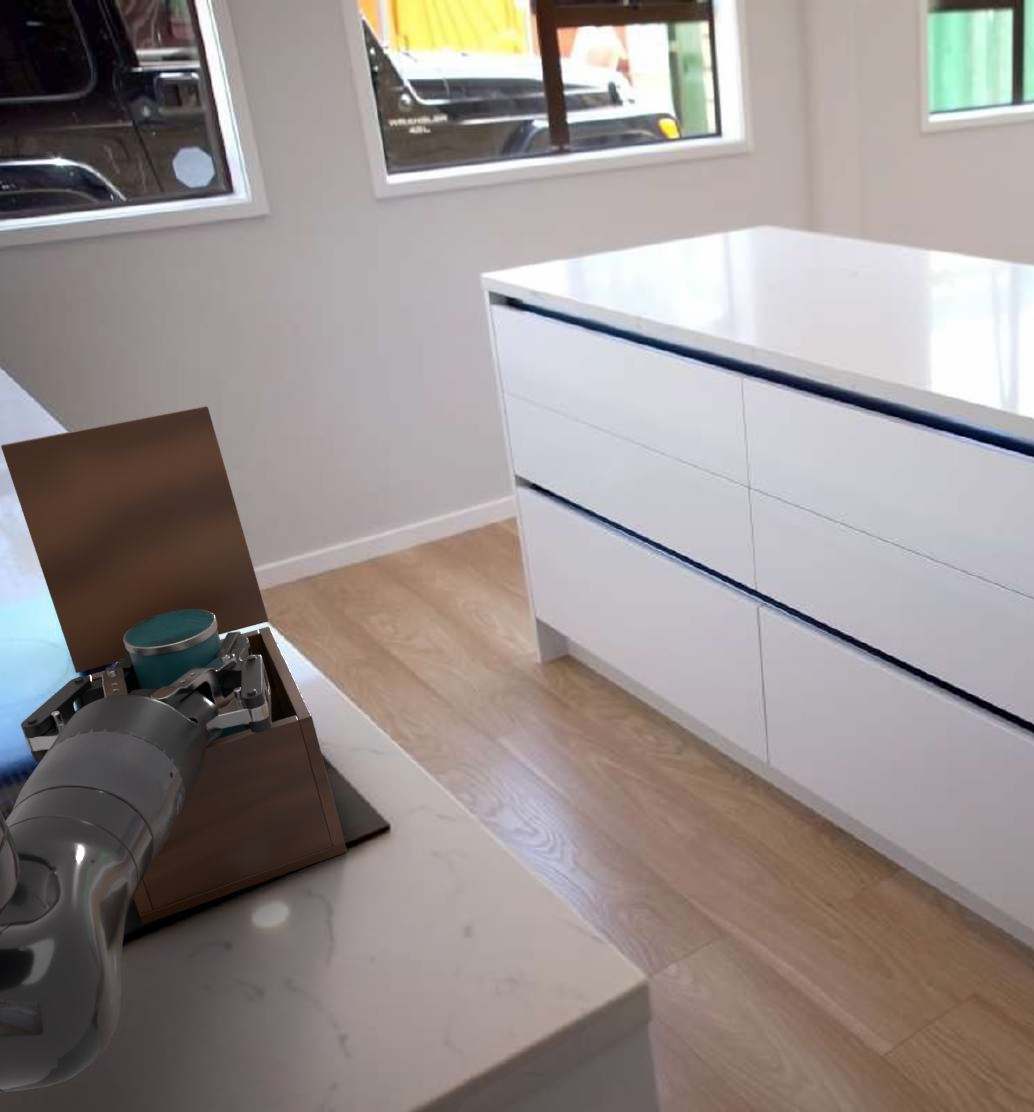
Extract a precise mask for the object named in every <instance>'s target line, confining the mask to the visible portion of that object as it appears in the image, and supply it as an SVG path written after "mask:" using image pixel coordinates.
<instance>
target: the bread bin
mask: <svg viewBox="0 0 1034 1112" xmlns="http://www.w3.org/2000/svg"><path fill="white" fill-rule="evenodd" d="M241 635H242V638H245V637H247V638H248V640H249V644H250V648H251V651H252V655H261V656H262V659H263V663H264V666H265V670H266V674H267V678H268V681H269V685H270V689H271V717H272V726H271V727H270V728H269V729H268V730H266V731H263V732H258V733H255V732H252V731H251V729H250V726H249V724H244V726H245V730H246V731H242V732H239V733H236V734H232V735H229V736H226V737H223V738H219V739H216V740H214V741H213V742H211V743H210V744H209V745H208V746H207V747H206V751H205V755H204V760H203V764H202V768H201V771H200V773H199V775H198V777H197V780H196V782H195V784H194V786H193V788H192V790H191V792H190V794H189V796H188V798H187V800H186V802H185V804H184V806H183V809H182V811H181V813H180V815H179V817H178V819H177V821H176V823H175V825H174V827H173V829H172V831H171V833H170V835H169V837H168V839H167V841H166V843H165V844H164V846H163V847H162V849H161V850H160V852H159V853H158V855H157V856H156V857H155V858H154V860H153V861H152V862H151V864H150V865H149V867H148V869H147V871H146V873H145V875H144V877H143V879H142V881H141V883H140V885H139V887H138V889H137V891H136V893H135V895H134V898H133V900H134V904H135V906H136V909H137V912H138V914H139V917H140V920H141V923H142V925H147V924H149V923H153V922H155V921H158V920H161V919H165V918H166V917H170V916H172V915H175V914H178V913H180V912H184V911H186V910H189V909H191V908H194V907H197V906H200V905H203V904H205V903H209V902H212V901H214V900H217V899H219V898H222V897H225V896H228V895H230V894H234V893H236V892H239V891H242V890H244V889H248V888H250V887H253V886H256V885H258V884H261V883H264V882H267V881H270V880H272V879H275V878H278V877H281V876H284V875H287V874H289V873H293V872H295V871H298V870H301V869H303V868H306V867H309V866H311V865H314V864H317V863H320V862H322V861H326V860H328V859H332V858H334V857H337V856H339V855H342V854H346V853H347V852H348V849H347V845H346V841H345V836H344V833H343V830H342V825H341V821H340V817H339V814H338V812H337V811H338V810H337V807H336V806H337V805H336V802H335V799H334V795H333V791H332V788H331V784H330V780H329V777H328V772H327V769H326V765H325V762H324V758H323V754H322V750H321V746H320V742H319V738H318V734H317V731H316V727H315V723H314V720H313V716H312V714H311V712H310V709H309V707H308V705H307V702H306V701H305V698H304V696H303V694H302V692H301V690H300V688H299V686H298V683H297V681H296V680H295V677H294V675H293V673H292V671H291V669H290V667H289V664H288V663H287V660H286V658H285V656H284V654H283V652H282V650H281V647H280V645H279V643H278V640H277V639H276V637H275V634H274V632H273V630H272V628H271V626H268V625H267V626H264V627H261V628H258V629H253V630H250V631H246V632H242V633H241ZM224 639H225V637H224V638H220V641H221V644H222V642H223V641H224ZM107 670H108V669H107ZM107 670H102V671H99V672H95V673H92V674H89V675H86V676H87V677H89V678H90V681H95V680H99V679H102V673H103V672H105V671H107Z"/></svg>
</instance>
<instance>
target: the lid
mask: <svg viewBox="0 0 1034 1112" xmlns="http://www.w3.org/2000/svg"><path fill="white" fill-rule="evenodd" d="M0 448H1V450H2V454H3V457H4V461H5V463H6V466H7V469H8V472H9V475H10V478H11V481H12V484H13V487H14V490H15V494H16V496H17V499H18V502H19V505H20V508H21V511H22V514H23V518H24V520H25V523H26V525H27V529H28V533H29V535H30V539H31V541H32V545H33V547H34V551H35V553H36V556H37V560H38V563H39V566H40V568H41V572H42V574H43V577H44V580H45V584H46V587H47V590H48V593H49V595H50V599H51V602H52V604H53V608H54V611H55V614H56V616H57V620H58V623H59V626H60V630H61V632H62V636H63V638H64V641H65V643H66V647H67V650H68V654H69V656H70V659H71V662H72V665H73V668H74V671H75V673H76V674H78V673H82V672H85V671H89V670H94V669H97V668H101V667H105V666H108V665H111V664H117V663H118V661H119V660H120V658H121V657H122V656H123V655H124V654H126V653H127V652H129V651H127V649H126V647H125V644H124V641H123V637H124V635H125V633H126V632H127V631H128V630H129V629H130V628H131V627H133V626H134V625H136V624H137V623H139V622H141V621H143V620H145V619H148V618H150V617H153V616H156V615H159V614H162V613H166V612H171V611H176V610H183V609H201V610H206V611H209V612H211V613H213V614H214V615H215V617H216V621H217V625H218V627H217V630H218V634H219V636H220V635H223V634H227V633H230V632H236V631H238V630H243V629H246V628H249V627H250V628H251V627H253V626H257V625H261V624H264V623H265V624H266V623H268V622H269V618H268V613H267V610H266V607H265V603H264V600H263V596H262V593H261V590H260V589H261V588H260V585H259V582H258V579H257V575H256V571H255V568H254V565H253V561H252V558H251V554H250V551H249V547H248V543H247V540H246V536H245V532H244V529H243V526H242V522H241V518H240V515H239V511H238V508H237V504H236V500H235V497H234V494H233V490H232V487H231V484H230V479H229V477H228V476H229V475H228V473H227V469H226V466H225V463H224V458H223V454H222V452H221V448H220V445H219V441H218V438H217V433H216V430H215V427H214V424H213V419H212V417H211V413H210V409H209V406H207V405H202V406H197V407H191V408H187V409H181V410H176V411H171V412H166V413H160V414H156V415H150V416H145V417H140V418H139V417H138V418H135V419H130V420H124V421H118V422H113V423H108V424H103V425H97V426H93V427H87V428H82V429H81V428H80V429H77V430H76V429H75V430H72V431H65V432H60V433H57V434H56V433H55V434H50V435H45V436H40V437H34V438H30V439H25V440H19V441H13V442H8V443H3V444H1V445H0Z"/></svg>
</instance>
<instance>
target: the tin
mask: <svg viewBox="0 0 1034 1112" xmlns="http://www.w3.org/2000/svg"><path fill="white" fill-rule="evenodd" d="M217 627H218V625H217V621H216V617H215V615H214V614H213V613H211V612H209V611H206V610H201V609H183V610H176V611H171V612H166V613H162V614H159V615H156V616H153V617H150V618H148V619H145V620H143V621H141V622H139V623H137V624H136V625H134V626H133V627H131V628H130V629H129V630H128V631H127V632H126V633H125V635H124V637H123V641H124V644H125V647H126V649H127V651H129V654H130V657H131V660H132V663H133V667H134V670H135V673H136V676H137V679H138V682H139V685H140V689H158V688H161V687H163V686H169V685H171V684H172V683H173V682H175V681H176V680H177V679H179V678H180V677H181V676H182V675H184V674H185V673H186V672H188V671H189V670H190V669H192V668H193V667H201V668H204V667H205V666H206V665H208V664H209V663H210V662H212V661H213V660H214V659H215V655H216V653H217V652H218V650H219V649H220V647H221V641H220V640H221V637H220V635H219V634H218V630H217ZM218 683H219V687H221V686H222V685H221V682H220V678H219V680H218ZM229 703H230V702H229ZM229 703H228V704H229ZM228 704H227V705H228ZM242 731H246V730H245V726H244V724H240V725H235V726H231V727H227V728H223V731H222V733H221V735H220V736H219V737H218V738H217V739H219V738H223V737H226V736H229V735H232V734H236V733H239V732H242ZM215 740H216V739H215Z"/></svg>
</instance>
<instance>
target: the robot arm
mask: <svg viewBox="0 0 1034 1112" xmlns="http://www.w3.org/2000/svg"><path fill="white" fill-rule="evenodd" d="M241 634H242V633H241V631H238V630H237V631H231V632H227V633H226V635H225V637H224V638H225V639H224V638H223V639H224V641H223V642H222V644H221V647H220V649H219V650H218V652H217V653H216V655H215V659H214V660H213V661H212V662H210V663H209V664H208V665H206V666H205V667H204V668H201V667H193V668H192V669H190V670H189V671H188V672H186V673H185V674H184V675H182V676H181V677H180V678H179V679H177V680H176V681H175V682H173V683H172V684H171V685H169V686H163V687H161V688H158V689H140V685H139V682H138V679H137V676H136V673H135V670H134V667H133V663H132V660H131V657H130V654H129V652H127V653H126V654H124V655H123V656H122V657H121V658H120V660H119V661H118V662H116V663H115V666H114V667H112V668H110V669H107V671H106V670H104V671H105V672H103V673H102V679H99V680H95V681H90V678H89V677H87V676H88V675H82V676H78V677H74V678H72V679H70V680H68V682H67V683H66V684H65V685H63V686H62V687H61V688H60V689H59V690H57V691H56V692H55V693H54V694H53V695H52V696H51V697H49V698H48V699H47V700H46V701H45V702H44V703H42V704H41V705H40V706H39V707H38V708H37V709H35V711H34V712H32V713H31V714H30V715H29V716H27V717H26V718H25V719H24V720H22V722H21V723H20V727H21V730H22V733H23V735H24V736H23V737H24V739H25V741H26V742H25V743H26V744H27V747H28V750H29V752H30V754H31V758H32V760H33V761H34V762H35V763H38V764H37V766H36V767H35V768H34V770H33V772H32V773H31V774H30V776H29V777H28V779H27V780H26V781H25V782H24V785H23V786H22V788H21V789H20V792H19V794H18V796H17V798H16V800H15V803H14V805H13V807H12V810H11V812H10V814H9V815H8V816H7V818H6V819H5V817H4V815H3V812H2V810H1V809H0V1094H2V1093H7V1092H9V1093H10V1092H18V1091H20V1092H21V1091H29V1090H34V1089H41V1088H47V1087H52V1086H54V1085H57V1084H58V1085H59V1084H62V1083H64V1082H66V1081H68V1080H70V1079H72V1078H74V1077H76V1076H77V1075H79V1074H80V1073H82V1072H83V1071H84V1070H85V1069H87V1068H88V1067H89V1066H90V1065H92V1064H93V1063H94V1062H95V1061H96V1060H97V1059H98V1058H99V1057H100V1056H101V1055H102V1053H103V1052H104V1051H105V1050H106V1049H107V1047H108V1046H109V1044H110V1043H111V1042H112V1040H113V1038H114V1035H116V1031H117V1028H118V1025H119V1021H120V1017H121V1010H122V1009H121V1008H122V1000H123V999H122V998H123V982H122V981H123V979H122V978H123V976H122V975H123V974H122V972H123V971H122V959H123V958H122V955H123V954H122V953H123V944H124V938H125V937H124V936H125V931H126V925H127V917H128V913H129V909H130V906H131V903H132V902H133V900H134V895H135V893H136V891H137V889H138V887H139V885H140V883H141V881H142V879H143V877H144V875H145V873H146V871H147V869H148V867H149V865H150V864H151V862H152V861H153V860H154V858H155V857H156V856H157V855H158V853H159V852H160V850H161V849H162V847H163V846H164V844H165V843H166V841H167V839H168V837H169V835H170V833H171V831H172V829H173V827H174V825H175V823H176V821H177V819H178V817H179V815H180V813H181V811H182V809H183V806H184V804H185V802H186V800H187V798H188V796H189V794H190V792H191V790H192V788H193V786H194V784H195V782H196V780H197V777H198V775H199V773H200V771H201V768H202V764H203V760H204V755H205V751H206V747H207V746H208V745H209V744H210V743H211V742H213V741H214V740H215V739H217V738H218V737H219V736H220V735H221V733H222V731H223V728H227V727H231V726H235V725H240V724H249V726H250V729H251V731H252V732H255V733H258V732H263V731H266V730H268V729H269V728H270V727H271V726H272V717H271V689H270V685H269V681H268V678H267V674H266V670H265V666H264V663H263V659H262V656H261V655H252V651H251V648H250V644H249V640H248V638H247V637H245V638H242V635H241ZM219 678H220V682H221V685H222V686H221V687H219V683H218V680H219ZM229 702H230V703H229ZM228 703H229V704H228ZM227 704H228V705H227ZM75 707H76V709H75Z"/></svg>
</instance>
